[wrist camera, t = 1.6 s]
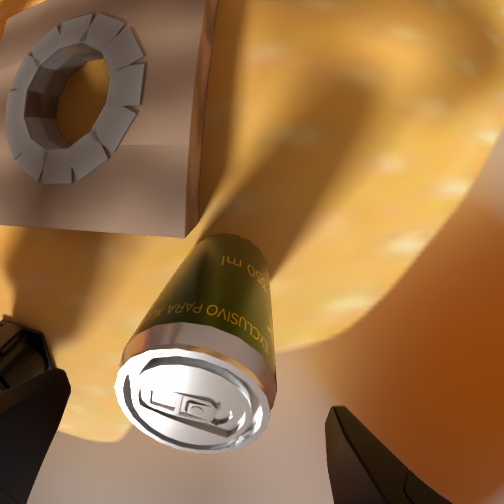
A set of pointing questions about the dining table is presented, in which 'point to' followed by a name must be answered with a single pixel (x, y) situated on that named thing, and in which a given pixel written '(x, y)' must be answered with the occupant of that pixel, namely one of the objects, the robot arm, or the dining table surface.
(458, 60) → the dining table surface
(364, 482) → the robot arm
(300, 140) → the dining table surface
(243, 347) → the beer can
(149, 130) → the plate
